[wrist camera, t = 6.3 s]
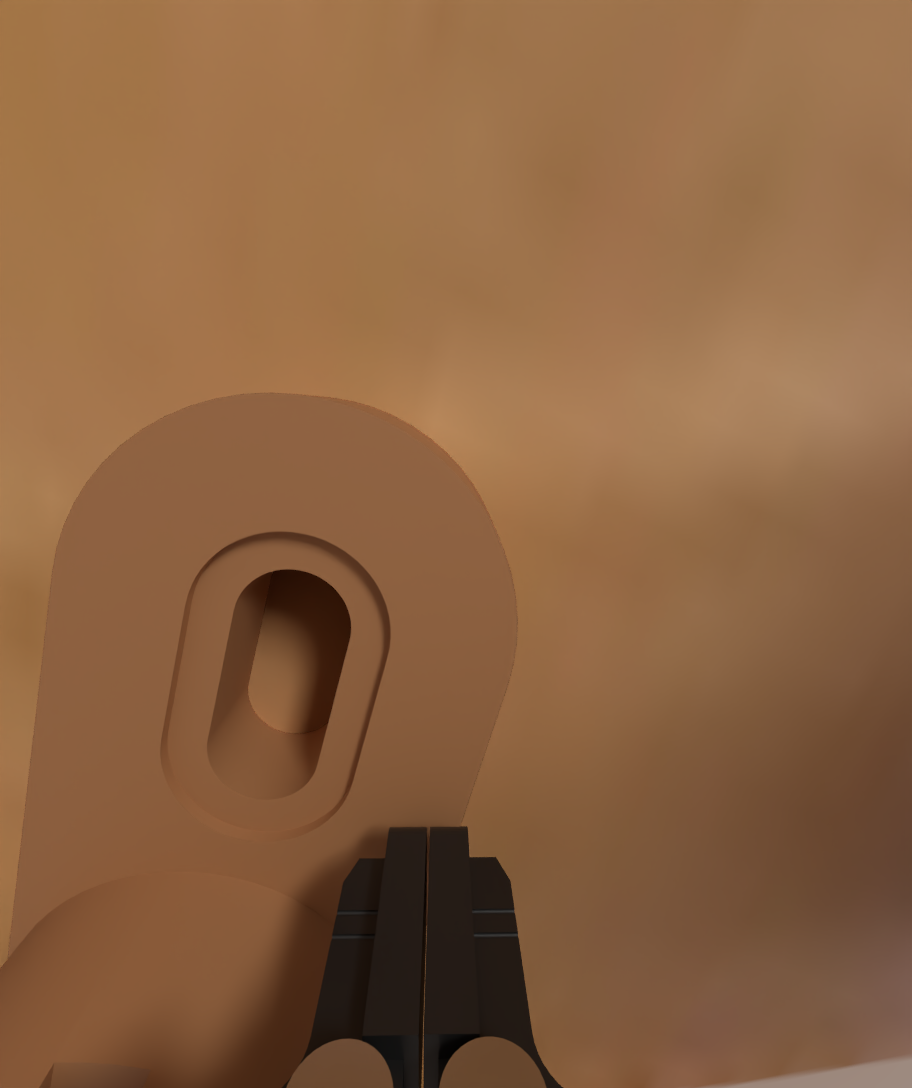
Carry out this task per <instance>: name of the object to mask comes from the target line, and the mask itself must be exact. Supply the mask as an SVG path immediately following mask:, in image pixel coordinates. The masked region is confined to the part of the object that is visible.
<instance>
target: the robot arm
mask: <svg viewBox="0 0 912 1088" xmlns="http://www.w3.org/2000/svg"><path fill="white" fill-rule="evenodd" d="M426 920H427V944H426ZM425 954H426V977H425ZM424 985H425V1010H424ZM423 1016H424V1088H563V1087H561V1086H560V1085H559V1084H558V1083H557V1082H556V1081H555V1079H554V1078H553V1077H552V1076H551V1075H550V1073H549V1072H548V1070H547V1069H546V1067H545V1066H544V1064H543V1063H542V1061H541V1059H540V1057H539V1055H538V1052H537V1049H536V1046H535V1044H534V1039H533V1035H532V1029H531V1022H530V1015H529V1008H528V1001H527V994H526V987H525V980H524V973H523V966H522V959H521V952H520V945H519V938H518V931H517V924H516V917H515V913H514V903H513V896H512V889H511V882H510V879H509V878H508V876H507V875H506V873H505V871H504V870H503V868H502V867H501V865H500V863H499V862H498V860H497V858H496V857H469V843H468V828H467V827H430V846H429V879H428V912H427V827H390V828H389V831H388V839H387V847H386V854H385V858H359V860H358V861H357V863H356V864H355V866H354V867H353V869H352V870H351V872H350V873H349V874H348V876H347V877H346V879H345V880H344V882H343V885H342V890H341V895H340V900H339V904H338V909H337V916H336V919H335V923H334V928H333V933H332V941H331V942H330V947H329V952H328V957H327V961H326V966H325V971H324V976H323V980H322V985H321V990H320V995H319V999H318V1004H317V1009H316V1014H315V1018H314V1023H313V1028H312V1033H311V1037H310V1041H309V1044H308V1047H307V1050H306V1052H305V1055H304V1057H303V1059H302V1061H301V1062H300V1064H299V1066H298V1068H297V1069H296V1071H295V1072H294V1073H293V1075H292V1076H291V1078H290V1079H289V1080H288V1081H287V1082H286V1083H285V1084H284V1086H283V1087H282V1088H421V1079H422V1048H423Z"/></svg>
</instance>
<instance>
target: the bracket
mask: <svg viewBox="0 0 912 1088" xmlns="http://www.w3.org/2000/svg"><path fill="white" fill-rule="evenodd" d="M283 569H293V570H301V571H305V572H308V573H311V574H314V575H316V576H318V577H320V578H321V579H323V580H325V581H326V582H327V583H329V584H330V585H331V586H332V587H333V588H334V589H335V590H336V591H337V592H338V593H339V594H340V596H341V597H342V599H343V600H344V602H345V604H346V606H347V609H348V611H349V615H350V620H351V636H350V641H349V644H348V648H347V652H346V656H345V660H344V664H343V668H342V672H341V676H340V679H339V683H338V687H337V691H336V695H335V699H334V703H333V707H332V710H331V714H330V718H329V722H328V723H327V724H325V725H324V726H323V727H321V728H319V729H317V730H315V731H312V732H308V733H303V734H291V733H285V732H282V731H279V730H276V729H274V728H272V727H270V726H269V725H267V724H266V723H265V722H263V721H262V720H261V719H260V718H259V717H258V716H257V714H256V713H255V711H254V710H253V708H252V706H251V703H250V701H249V696H248V684H249V679H250V674H251V669H252V665H253V660H254V656H255V651H256V646H257V642H258V637H259V632H260V628H261V623H262V618H263V614H264V609H265V604H266V600H267V595H268V590H269V586H270V581H271V577H272V572H273V571H276V570H283ZM517 625H518V617H517V605H516V595H515V589H514V584H513V579H512V574H511V571H510V567H509V564H508V561H507V558H506V555H505V552H504V549H503V546H502V544H501V542H500V539H499V537H498V534H497V532H496V529H495V527H494V525H493V522H492V520H491V518H490V515H489V513H488V511H487V509H486V506H485V504H484V502H483V500H482V498H481V497H480V495H479V493H478V492H477V490H476V488H475V487H474V485H473V483H472V482H471V481H470V479H469V478H468V477H467V475H466V474H465V473H464V471H463V470H462V469H461V467H460V466H459V465H458V464H457V463H456V462H455V461H454V460H453V459H452V458H451V457H450V456H449V454H448V453H447V452H446V451H444V450H443V449H442V448H441V447H440V446H439V445H438V444H436V443H435V442H434V441H433V440H432V439H431V438H429V437H428V436H426V435H425V434H423V433H422V432H421V431H419V430H418V429H416V428H415V427H413V426H412V425H410V424H408V423H406V422H404V421H402V420H401V419H399V418H397V417H395V416H393V415H391V414H388V413H386V412H383V411H381V410H379V409H376V408H374V407H370V406H367V405H364V404H360V403H357V402H353V401H348V400H342V399H337V398H331V397H320V396H309V395H298V394H283V393H255V394H240V395H234V396H228V397H222V398H216V399H212V400H209V401H205V402H202V403H198V404H195V405H191V406H188V407H186V408H184V409H181V410H179V411H176V412H174V413H172V414H169V415H167V416H164V417H163V418H161V419H159V420H157V421H156V422H154V423H152V424H150V425H149V426H147V427H145V428H143V429H142V430H140V431H139V432H138V433H136V434H135V435H134V436H132V437H131V438H130V439H128V440H127V441H126V442H124V443H123V444H121V445H120V446H119V447H118V448H117V449H116V450H115V451H114V452H113V453H112V454H111V455H110V456H109V457H108V458H107V459H106V460H105V461H104V462H103V463H102V464H101V465H100V466H99V468H98V469H97V470H96V471H95V473H94V474H93V475H92V476H91V477H90V479H89V480H88V481H87V483H86V484H85V486H84V487H83V489H82V491H81V492H80V494H79V495H78V497H77V499H76V500H75V502H74V504H73V506H72V508H71V510H70V513H69V515H68V517H67V519H66V521H65V524H64V526H63V529H62V532H61V536H60V539H59V542H58V545H57V548H56V554H55V560H54V565H53V571H52V579H51V587H50V596H49V605H48V613H47V622H46V631H45V639H44V648H43V657H42V665H41V674H40V683H39V691H38V700H37V709H36V717H35V726H34V735H33V743H32V752H31V761H30V769H29V778H28V787H27V795H26V804H25V813H24V821H23V830H22V838H21V847H20V856H19V864H18V873H17V882H16V890H15V899H14V908H13V916H12V925H11V934H10V942H9V951H8V960H7V961H6V962H5V964H4V965H3V966H2V967H1V969H0V1088H282V1087H283V1086H284V1084H285V1083H286V1082H287V1081H288V1080H289V1079H290V1078H291V1076H292V1075H293V1073H294V1072H295V1071H296V1069H297V1068H298V1066H299V1064H300V1062H301V1061H302V1059H303V1057H304V1055H305V1052H306V1050H307V1047H308V1044H309V1041H310V1037H311V1033H312V1028H313V1023H314V1018H315V1014H316V1009H317V1004H318V999H319V995H320V990H321V985H322V980H323V976H324V971H325V966H326V961H327V957H328V952H329V947H330V942H331V941H332V933H333V928H334V923H335V919H336V916H337V909H338V904H339V900H340V895H341V890H342V885H343V882H344V880H345V879H346V877H347V876H348V874H349V873H350V872H351V870H352V869H353V867H354V866H355V864H356V863H357V861H358V860H359V858H385V854H386V847H387V839H388V831H389V828H390V827H427V912H428V879H429V846H430V827H460V826H461V823H462V820H463V817H464V814H465V811H466V808H467V805H468V802H469V799H470V796H471V793H472V790H473V787H474V784H475V781H476V778H477V775H478V772H479V769H480V766H481V763H482V761H483V758H484V755H485V752H486V749H487V746H488V743H489V740H490V737H491V734H492V731H493V728H494V725H495V722H496V719H497V716H498V713H499V710H500V707H501V704H502V701H503V699H504V696H505V693H506V690H507V687H508V683H509V679H510V676H511V672H512V669H513V665H514V658H515V652H516V645H517ZM426 926H427V920H426Z"/></svg>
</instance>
